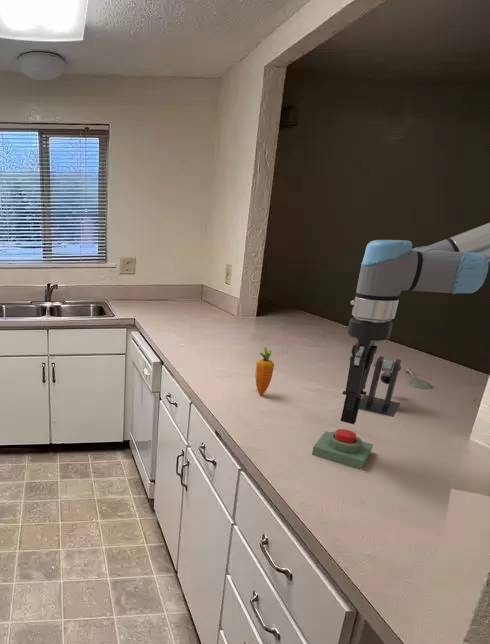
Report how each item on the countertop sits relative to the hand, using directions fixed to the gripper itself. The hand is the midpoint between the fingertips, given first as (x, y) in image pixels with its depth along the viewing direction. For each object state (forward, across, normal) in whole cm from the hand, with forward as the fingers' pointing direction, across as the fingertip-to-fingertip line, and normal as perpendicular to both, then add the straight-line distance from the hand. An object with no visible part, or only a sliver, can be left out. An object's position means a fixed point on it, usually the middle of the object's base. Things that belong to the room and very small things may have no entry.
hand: (347, 421), depth 97 cm
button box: (+8, 0, 0) cm, 8 cm away
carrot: (+9, -23, -27) cm, 37 cm away
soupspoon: (+8, -67, +6) cm, 68 cm away
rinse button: (+5, 0, 0) cm, 5 cm away
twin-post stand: (+8, -34, +2) cm, 35 cm away
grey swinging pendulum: (0, -37, +1) cm, 37 cm away
